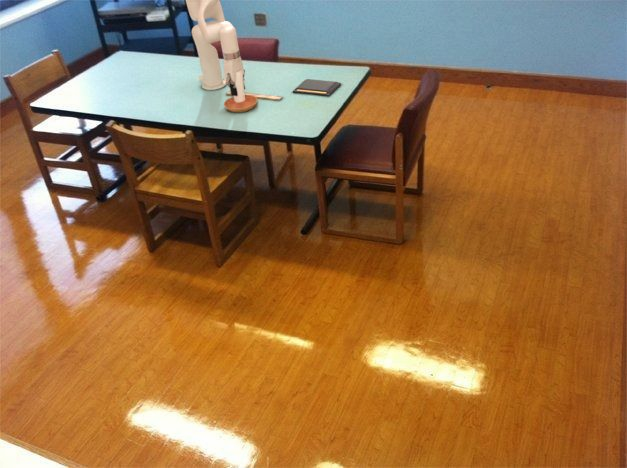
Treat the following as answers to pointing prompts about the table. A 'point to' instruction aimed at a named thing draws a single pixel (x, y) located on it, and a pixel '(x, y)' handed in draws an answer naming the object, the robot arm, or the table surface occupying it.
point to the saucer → (241, 104)
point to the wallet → (317, 87)
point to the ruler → (262, 96)
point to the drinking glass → (239, 87)
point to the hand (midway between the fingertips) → (238, 92)
